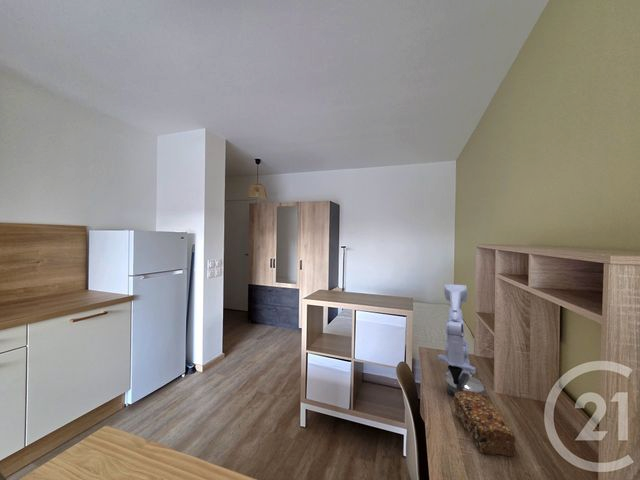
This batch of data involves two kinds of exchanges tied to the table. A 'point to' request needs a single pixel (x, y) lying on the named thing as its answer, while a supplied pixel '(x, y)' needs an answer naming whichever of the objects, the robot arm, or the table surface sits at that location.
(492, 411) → the bread
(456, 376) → the robot arm
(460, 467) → the table surface
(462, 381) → the lid
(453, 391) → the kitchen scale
